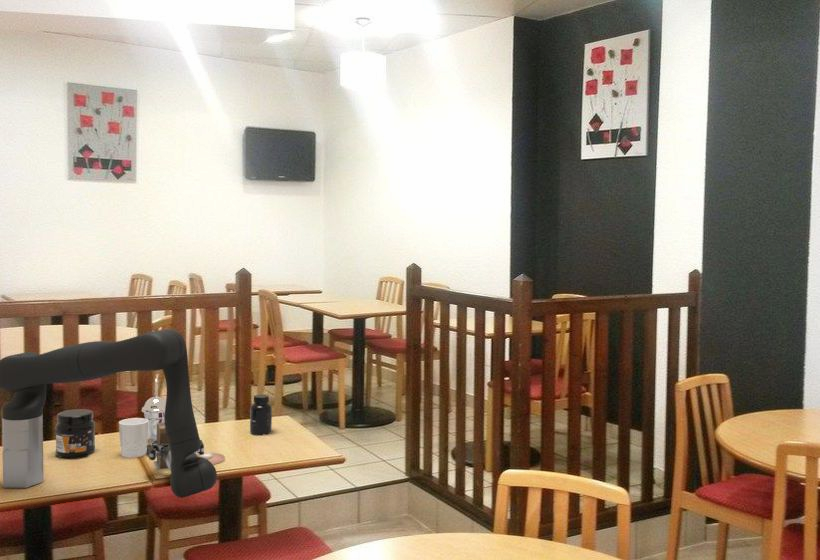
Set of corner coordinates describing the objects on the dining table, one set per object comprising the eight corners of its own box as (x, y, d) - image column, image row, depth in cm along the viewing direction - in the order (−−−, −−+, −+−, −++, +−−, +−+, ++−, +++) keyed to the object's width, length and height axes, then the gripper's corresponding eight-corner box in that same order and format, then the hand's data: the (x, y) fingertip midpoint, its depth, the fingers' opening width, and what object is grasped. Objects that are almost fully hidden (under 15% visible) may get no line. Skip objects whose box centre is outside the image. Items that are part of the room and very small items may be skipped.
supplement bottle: (246, 434, 246) (246, 397, 246) (254, 429, 253) (254, 393, 252) (267, 436, 245) (267, 398, 245) (274, 430, 252) (274, 394, 251)
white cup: (138, 460, 218) (138, 425, 217) (113, 458, 220) (113, 423, 219) (153, 452, 226) (153, 418, 225) (129, 450, 227) (128, 417, 227)
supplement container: (51, 460, 217) (50, 418, 216) (60, 449, 227) (59, 409, 227) (91, 458, 219) (91, 416, 218) (98, 447, 230) (98, 408, 229)
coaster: (187, 467, 212) (187, 466, 212) (157, 471, 209) (157, 469, 209) (182, 459, 220) (182, 458, 220) (153, 462, 216) (153, 461, 216)
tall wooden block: (184, 465, 213) (184, 426, 212) (160, 468, 210) (160, 428, 209) (180, 459, 219) (180, 420, 218) (156, 461, 216) (156, 423, 215)
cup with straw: (136, 443, 234) (135, 378, 233) (152, 436, 243) (151, 373, 242) (161, 446, 232) (161, 380, 231) (176, 438, 241) (176, 374, 240)
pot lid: (220, 467, 213) (220, 460, 213) (183, 466, 213) (183, 459, 213) (228, 456, 223) (228, 449, 223) (193, 456, 223) (193, 449, 223)
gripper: (209, 441, 200) (197, 426, 215) (152, 447, 194) (144, 431, 209) (209, 470, 201) (197, 452, 215) (152, 476, 195) (144, 458, 209)
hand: (171, 442), depth 212 cm, fingers open, 8 cm apart
